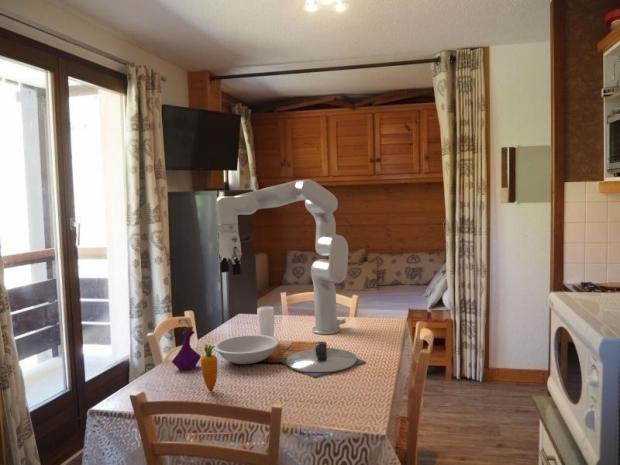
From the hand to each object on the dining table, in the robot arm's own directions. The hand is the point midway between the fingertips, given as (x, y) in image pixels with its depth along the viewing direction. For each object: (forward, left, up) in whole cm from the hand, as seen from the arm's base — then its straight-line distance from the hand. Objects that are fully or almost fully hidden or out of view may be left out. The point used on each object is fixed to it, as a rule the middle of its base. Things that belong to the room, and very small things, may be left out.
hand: (230, 273), depth 196 cm
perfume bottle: (+21, +4, -31) cm, 38 cm away
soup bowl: (+1, +12, -31) cm, 34 cm away
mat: (-18, +32, -31) cm, 48 cm away
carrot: (+24, +31, -31) cm, 51 cm away
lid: (-18, +32, -30) cm, 48 cm away
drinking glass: (-15, -1, -31) cm, 35 cm away
